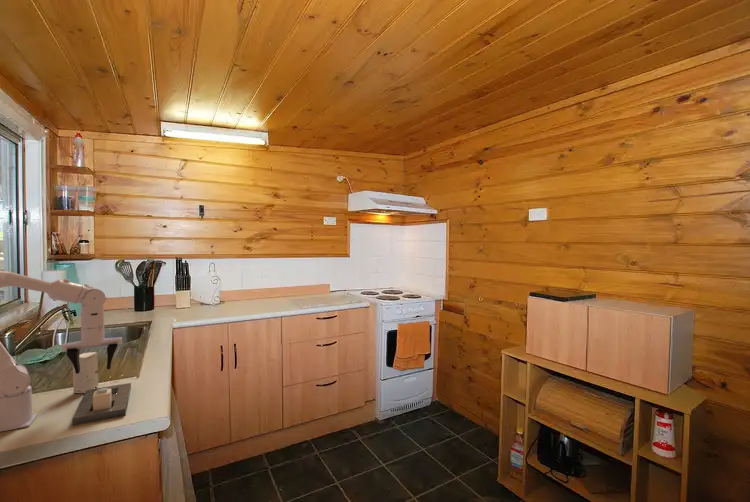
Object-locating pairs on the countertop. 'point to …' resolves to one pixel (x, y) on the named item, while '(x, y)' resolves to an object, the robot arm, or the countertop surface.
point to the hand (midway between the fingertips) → (93, 370)
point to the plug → (102, 399)
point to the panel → (118, 409)
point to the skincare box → (86, 373)
